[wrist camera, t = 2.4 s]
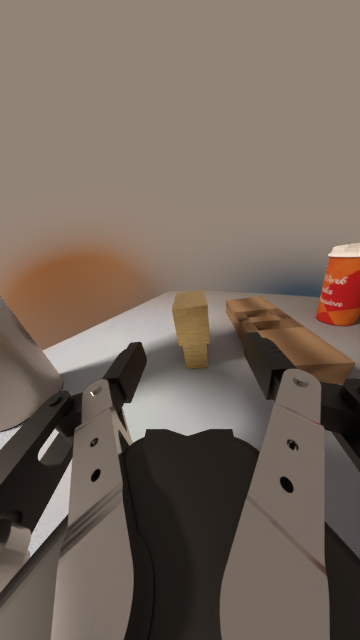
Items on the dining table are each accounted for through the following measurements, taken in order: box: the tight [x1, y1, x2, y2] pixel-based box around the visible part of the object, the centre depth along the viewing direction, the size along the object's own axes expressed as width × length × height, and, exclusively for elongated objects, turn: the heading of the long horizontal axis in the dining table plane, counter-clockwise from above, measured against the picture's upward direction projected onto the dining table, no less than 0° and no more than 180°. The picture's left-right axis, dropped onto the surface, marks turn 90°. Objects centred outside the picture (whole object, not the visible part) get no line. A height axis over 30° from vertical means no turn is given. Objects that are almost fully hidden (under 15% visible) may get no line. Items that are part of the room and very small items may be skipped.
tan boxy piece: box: [172, 290, 210, 369], centre depth 23 cm, size 5×7×11 cm, turn 176°
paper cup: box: [316, 243, 360, 326], centre depth 26 cm, size 8×8×14 cm
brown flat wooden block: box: [226, 297, 355, 384], centre depth 28 cm, size 9×24×4 cm, turn 176°
